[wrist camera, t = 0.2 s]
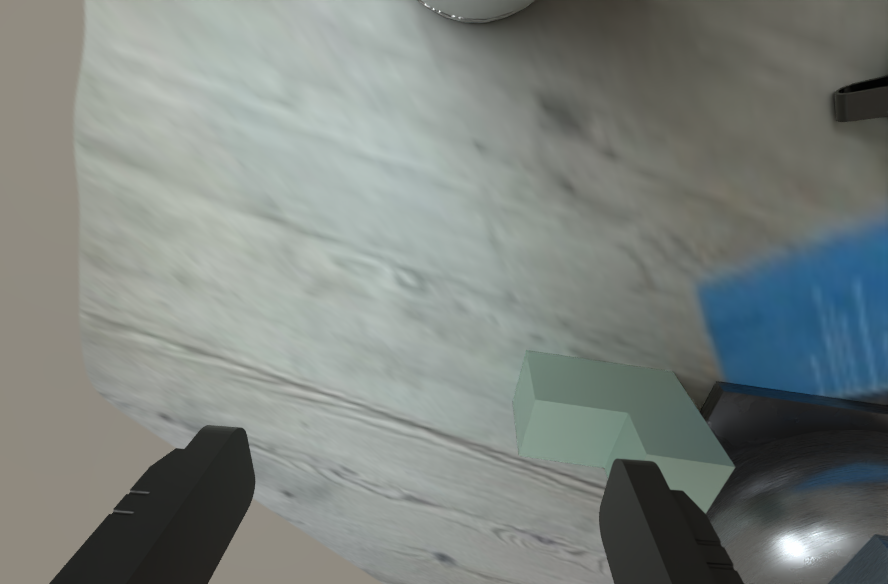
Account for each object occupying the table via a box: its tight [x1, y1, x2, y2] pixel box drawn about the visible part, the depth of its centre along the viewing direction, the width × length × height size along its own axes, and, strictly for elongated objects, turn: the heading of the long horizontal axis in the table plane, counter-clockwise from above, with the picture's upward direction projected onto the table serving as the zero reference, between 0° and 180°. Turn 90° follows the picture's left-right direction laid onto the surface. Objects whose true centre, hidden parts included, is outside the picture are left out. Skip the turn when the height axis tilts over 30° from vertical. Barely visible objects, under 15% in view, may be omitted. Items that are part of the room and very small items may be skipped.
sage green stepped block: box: [513, 350, 735, 514], centre depth 27 cm, size 5×10×8 cm, turn 83°
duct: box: [700, 381, 888, 584], centre depth 30 cm, size 22×22×10 cm
